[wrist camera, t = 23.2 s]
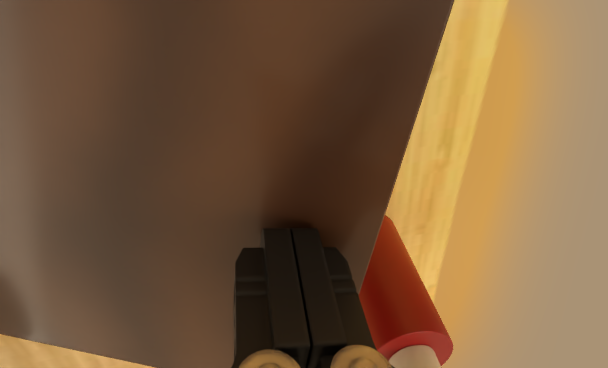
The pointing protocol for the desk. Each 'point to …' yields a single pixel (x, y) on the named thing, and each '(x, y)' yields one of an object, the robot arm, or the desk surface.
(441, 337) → the glue bottle
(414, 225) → the desk surface
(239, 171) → the box lid
